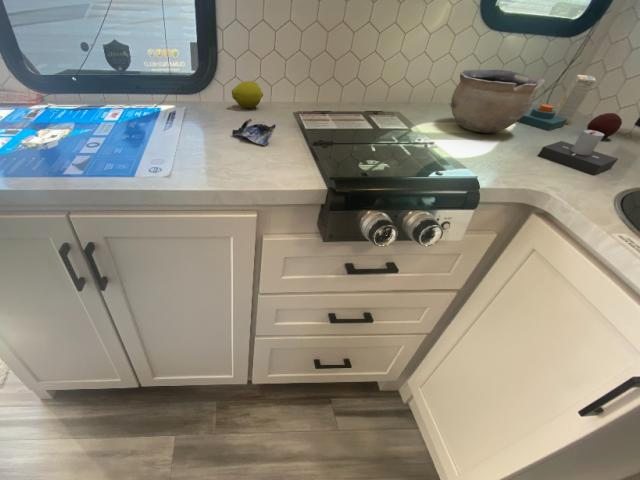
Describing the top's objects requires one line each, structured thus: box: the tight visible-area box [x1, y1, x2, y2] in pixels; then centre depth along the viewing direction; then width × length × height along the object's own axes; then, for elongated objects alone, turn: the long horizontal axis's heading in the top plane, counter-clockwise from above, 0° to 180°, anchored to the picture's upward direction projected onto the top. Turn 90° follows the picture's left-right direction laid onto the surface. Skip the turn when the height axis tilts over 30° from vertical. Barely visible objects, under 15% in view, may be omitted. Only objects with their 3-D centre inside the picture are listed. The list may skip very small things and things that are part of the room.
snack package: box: [231, 118, 277, 147], centre depth 98 cm, size 12×6×12 cm
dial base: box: [537, 140, 619, 176], centre depth 93 cm, size 14×10×3 cm
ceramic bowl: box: [450, 69, 546, 134], centre depth 106 cm, size 22×22×15 cm
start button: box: [538, 103, 554, 112], centre depth 115 cm, size 4×4×2 cm
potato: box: [586, 112, 623, 139], centre depth 107 cm, size 7×8×7 cm
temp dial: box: [571, 129, 604, 155], centre depth 90 cm, size 4×4×5 cm
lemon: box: [231, 80, 264, 109], centre depth 117 cm, size 11×8×8 cm
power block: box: [517, 106, 568, 131], centre depth 117 cm, size 12×10×4 cm
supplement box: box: [554, 74, 597, 125], centre depth 116 cm, size 8×5×13 cm, turn 147°
